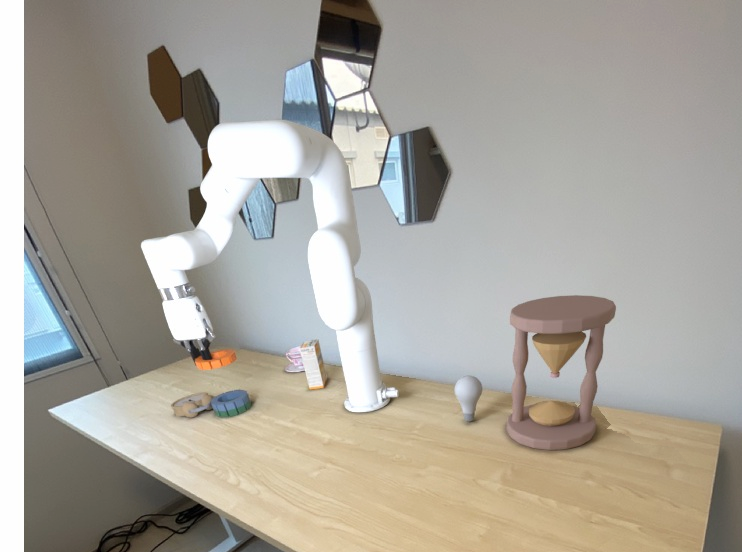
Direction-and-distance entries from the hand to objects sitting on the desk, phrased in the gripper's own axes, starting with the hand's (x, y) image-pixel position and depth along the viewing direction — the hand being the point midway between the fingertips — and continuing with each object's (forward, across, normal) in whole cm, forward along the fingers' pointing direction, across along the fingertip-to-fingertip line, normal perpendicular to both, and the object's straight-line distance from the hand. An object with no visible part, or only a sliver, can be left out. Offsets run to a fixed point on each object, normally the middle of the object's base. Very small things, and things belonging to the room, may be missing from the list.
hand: (204, 363), depth 114 cm
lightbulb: (+15, -73, +12) cm, 75 cm away
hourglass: (+15, -90, +17) cm, 93 cm away
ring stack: (+15, -3, -1) cm, 15 cm away
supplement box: (+15, -25, -17) cm, 34 cm away
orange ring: (0, -4, 0) cm, 4 cm away
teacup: (+15, -12, -35) cm, 40 cm away
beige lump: (+15, +10, -1) cm, 18 cm away
